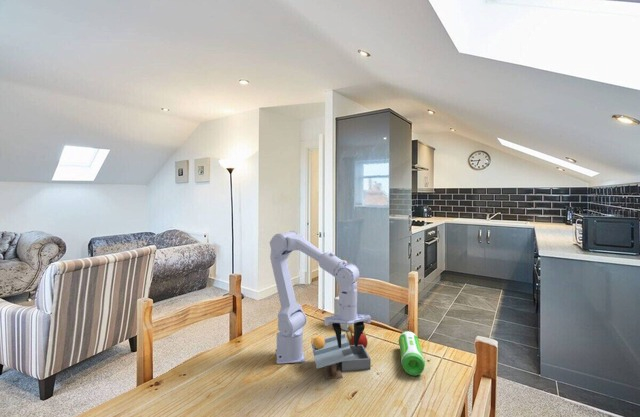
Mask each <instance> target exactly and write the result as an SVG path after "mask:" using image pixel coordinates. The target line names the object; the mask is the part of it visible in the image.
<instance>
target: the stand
mask: <svg viewBox="0 0 640 417" xmlns="http://www.w3.org/2000/svg"><path fill="white" fill-rule="evenodd" d="M323 371H324V374H325V378H326V380H331V379H332V380H333V379H334V380H335V379H343V377H344V376H343V372H342V370H341V367H340V364H339V362H338V363H335V364H331V365H328V366H324V367H323Z"/></svg>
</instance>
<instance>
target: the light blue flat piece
mask: <svg viewBox="0 0 640 417" xmlns="http://www.w3.org/2000/svg"><path fill="white" fill-rule="evenodd" d="M323 339H324V340H325V345H324V347H323V348H322V349H316V348H315V347H314V345H313V341H312V342H310V344H311V349H312V353H313V357H314V362H315V366H316V369H321V368H324V366H328V365H331V364H335V363H338V364H339V362H342V361H346V360H349V359H353V358H354V354H353V352H352V350H351V348H350V346H349V342H348V338H347V336H346V333H341V348H339V347H338V342H337V337H336V335H332V336H330V337H325V338H323Z"/></svg>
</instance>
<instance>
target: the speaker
mask: <svg viewBox="0 0 640 417" xmlns="http://www.w3.org/2000/svg"><path fill="white" fill-rule="evenodd" d="M398 345H399V350H400V352H399V353H400V358H401V360H400V362H401V366H402V368H403V369H404V371H405V373H407V374H409V375H410V376H419V375H421V374H422V373H423V372H424V370H425V365H426V364H425V359H424V356H423V353H422V352H423V351H422V347H421V344H420V339H419V337H418V336H417V335H416V334H415V333H414V332H412V331H411V330H406V331H403V332H402V333H401V334H400V335H399V338H398Z"/></svg>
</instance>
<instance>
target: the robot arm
mask: <svg viewBox="0 0 640 417" xmlns="http://www.w3.org/2000/svg"><path fill="white" fill-rule="evenodd" d="M269 246H270V256H269V258H270V263H271V267H272V272H273V277H274V280H275V285H276V290H277V293H278V298H279V302H280V309H279V311H278V313H277V318H278V320H277V328H278V332H276V348H275V356H276V364H277V365H280V364H292V363H297V364H298V363H304V362H305V353H304V347H303V346H304V345H303V342H304V340H303V339H304V338H303V337H304V326H305V325H306V324H307V321H308V320H307V316H306V313H305V312H304V310H303V307H302V305H301V304H300V303H298V302H297V299H296V295H295V290H294V286H293V281H292V278H291V273H290V269H289V266H288V258H289V256H290V254H291V253H292V252H293V251H299V252H302V254H305V255H307V256H308V257H309V258H312V259H313V260H314V261H317V263H318V266H319V268H321V269H322V270H324V271H325V272H326V273H328V274H330V275H331V276H333V277H334V278H335V280H336V282H337V284H338V297H339V315H335V316H334V315H331V316H325V317H324V325H325V326H330V325H332V327H333V328H332V329H333V330H334V334H335V336H336V337H337V342H338V347H339V348H341V334H342V330H343V329H341V325H340V324H348V325H352V324H354V345H355V347H357V346H358V342H359V338H360V336H361V334H362V332H363V330H364V331H365V323H367V324H371V323H372V317H371V316H370V314H360V313H359V314H358V280H359V279H360V275H361V272H360V269H359V267H358V266H357V265H356V264H355V263H348V261H346V260H342V259H341V258H340V257H338V256H336V253H335V252H333V251H331V252H330V251H326V252H323V251H322V250H321V249H319V248H318V247H317V246H315V245H314V244H312V243H311V242H310V241H308V240H307V239H305V237H304V236H303V235H302V234H300V233H298V232H297V231H294V230H291V231H287V232H283V233H276V234H274V235H273V236H272V238H271V239H270V241H269Z"/></svg>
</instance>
